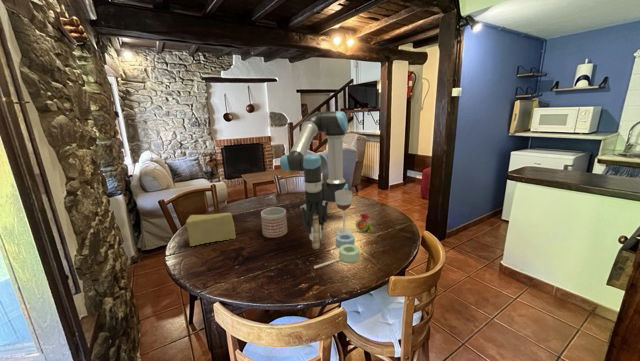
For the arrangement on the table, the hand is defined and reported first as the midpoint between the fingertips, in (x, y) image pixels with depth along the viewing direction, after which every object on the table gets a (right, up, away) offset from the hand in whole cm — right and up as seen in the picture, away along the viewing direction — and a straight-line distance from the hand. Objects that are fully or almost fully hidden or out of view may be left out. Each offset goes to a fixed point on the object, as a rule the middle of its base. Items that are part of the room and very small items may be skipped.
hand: (315, 238), depth 123 cm
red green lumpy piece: (+26, -2, +24) cm, 36 cm away
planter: (-23, -3, +26) cm, 35 cm away
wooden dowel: (0, -4, +1) cm, 5 cm away
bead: (+15, -8, -2) cm, 18 cm away
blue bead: (+15, -5, +10) cm, 19 cm away
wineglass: (+15, -2, +23) cm, 28 cm away
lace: (+5, -10, -7) cm, 13 cm away
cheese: (-54, -6, +18) cm, 57 cm away
